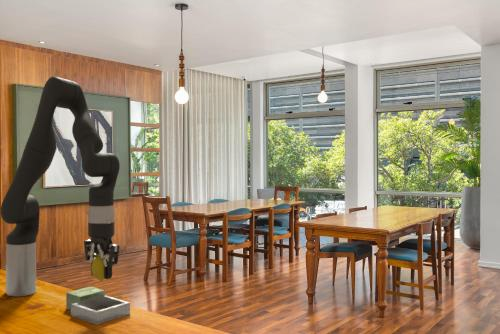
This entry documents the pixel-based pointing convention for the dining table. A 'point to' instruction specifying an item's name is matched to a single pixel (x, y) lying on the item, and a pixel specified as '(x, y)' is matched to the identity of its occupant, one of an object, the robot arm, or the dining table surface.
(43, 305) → the dining table surface
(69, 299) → the square open box
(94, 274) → the lemon
